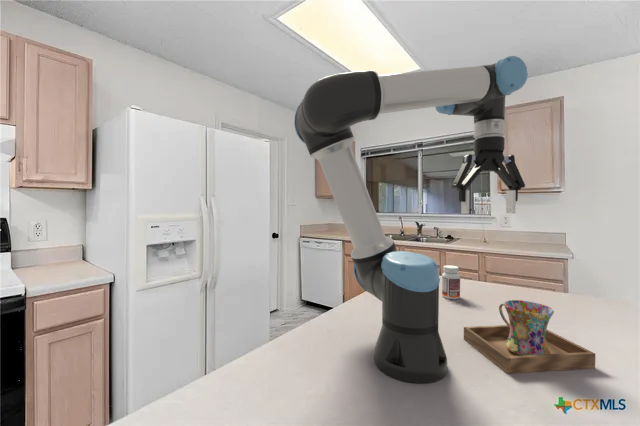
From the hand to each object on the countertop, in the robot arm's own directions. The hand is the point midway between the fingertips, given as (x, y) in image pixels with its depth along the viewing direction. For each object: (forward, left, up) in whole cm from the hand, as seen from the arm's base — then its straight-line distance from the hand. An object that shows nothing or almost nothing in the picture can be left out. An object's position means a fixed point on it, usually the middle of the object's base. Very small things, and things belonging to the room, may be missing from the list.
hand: (488, 213), depth 85 cm
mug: (-2, -16, -31) cm, 35 cm away
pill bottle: (+3, +25, -32) cm, 41 cm away
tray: (-2, -16, -32) cm, 36 cm away
